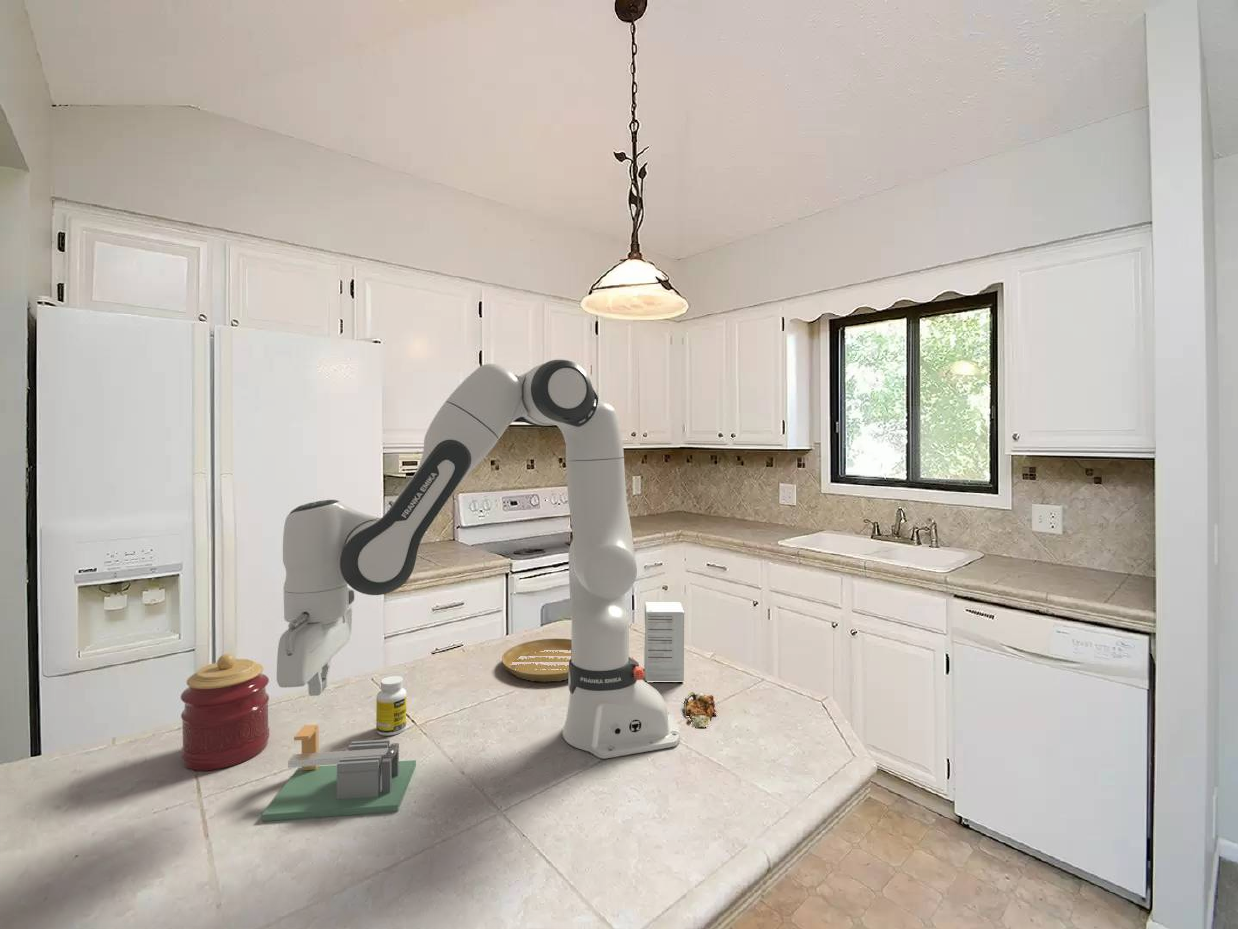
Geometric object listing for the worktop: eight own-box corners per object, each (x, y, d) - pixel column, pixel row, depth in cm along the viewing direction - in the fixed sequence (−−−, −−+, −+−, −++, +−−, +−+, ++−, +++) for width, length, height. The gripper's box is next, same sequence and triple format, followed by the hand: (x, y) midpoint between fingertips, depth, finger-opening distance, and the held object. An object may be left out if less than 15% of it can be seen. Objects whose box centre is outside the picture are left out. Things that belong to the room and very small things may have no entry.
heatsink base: (415, 766, 98) (415, 729, 98) (397, 811, 86) (397, 769, 86) (298, 773, 96) (298, 735, 95) (262, 821, 83) (261, 778, 83)
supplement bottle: (396, 738, 107) (395, 686, 107) (370, 735, 108) (370, 684, 108) (412, 724, 113) (411, 675, 112) (387, 721, 114) (387, 673, 113)
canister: (285, 743, 105) (284, 648, 105) (210, 780, 93) (208, 674, 93) (241, 728, 111) (240, 638, 110) (165, 761, 99) (163, 661, 98)
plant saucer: (511, 693, 128) (511, 679, 128) (494, 657, 150) (494, 644, 150) (612, 678, 136) (612, 665, 136) (582, 646, 159) (582, 634, 159)
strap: (397, 753, 93) (397, 744, 93) (392, 763, 90) (392, 754, 90) (295, 760, 91) (295, 751, 91) (286, 770, 88) (286, 761, 88)
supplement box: (684, 684, 133) (685, 612, 133) (645, 683, 133) (645, 612, 133) (680, 668, 143) (681, 601, 142) (643, 667, 143) (644, 601, 142)
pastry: (686, 730, 112) (686, 712, 112) (681, 702, 124) (681, 686, 124) (721, 730, 112) (722, 713, 112) (713, 703, 124) (713, 687, 124)
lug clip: (318, 765, 96) (318, 724, 96) (308, 779, 92) (308, 736, 92) (304, 766, 96) (304, 724, 95) (294, 780, 92) (294, 736, 92)
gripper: (310, 624, 79) (312, 722, 80) (358, 588, 99) (359, 666, 100) (262, 626, 78) (264, 725, 79) (320, 589, 99) (321, 668, 99)
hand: (318, 691), depth 89 cm, fingers closed
